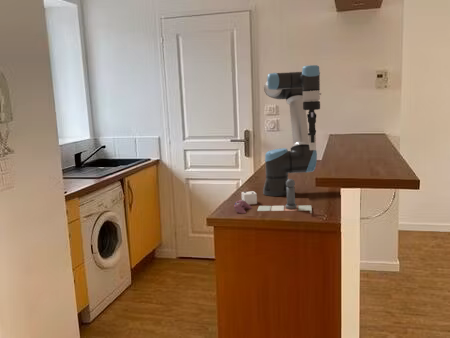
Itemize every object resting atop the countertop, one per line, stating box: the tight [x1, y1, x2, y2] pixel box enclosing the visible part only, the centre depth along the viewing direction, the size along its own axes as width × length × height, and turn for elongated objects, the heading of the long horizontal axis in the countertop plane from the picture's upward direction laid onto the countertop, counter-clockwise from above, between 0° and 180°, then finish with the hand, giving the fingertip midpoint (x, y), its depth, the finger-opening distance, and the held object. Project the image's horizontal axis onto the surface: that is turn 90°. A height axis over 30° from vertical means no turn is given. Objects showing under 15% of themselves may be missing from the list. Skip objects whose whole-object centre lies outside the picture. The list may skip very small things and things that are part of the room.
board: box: [256, 204, 313, 214], centre depth 203 cm, size 10×24×1 cm, turn 81°
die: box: [241, 190, 258, 205], centre depth 217 cm, size 6×6×6 cm
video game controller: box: [233, 199, 253, 214], centre depth 203 cm, size 10×5×7 cm, turn 159°
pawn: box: [284, 178, 298, 209], centre depth 202 cm, size 5×5×13 cm
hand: (312, 148), depth 206 cm, fingers open, 13 cm apart
